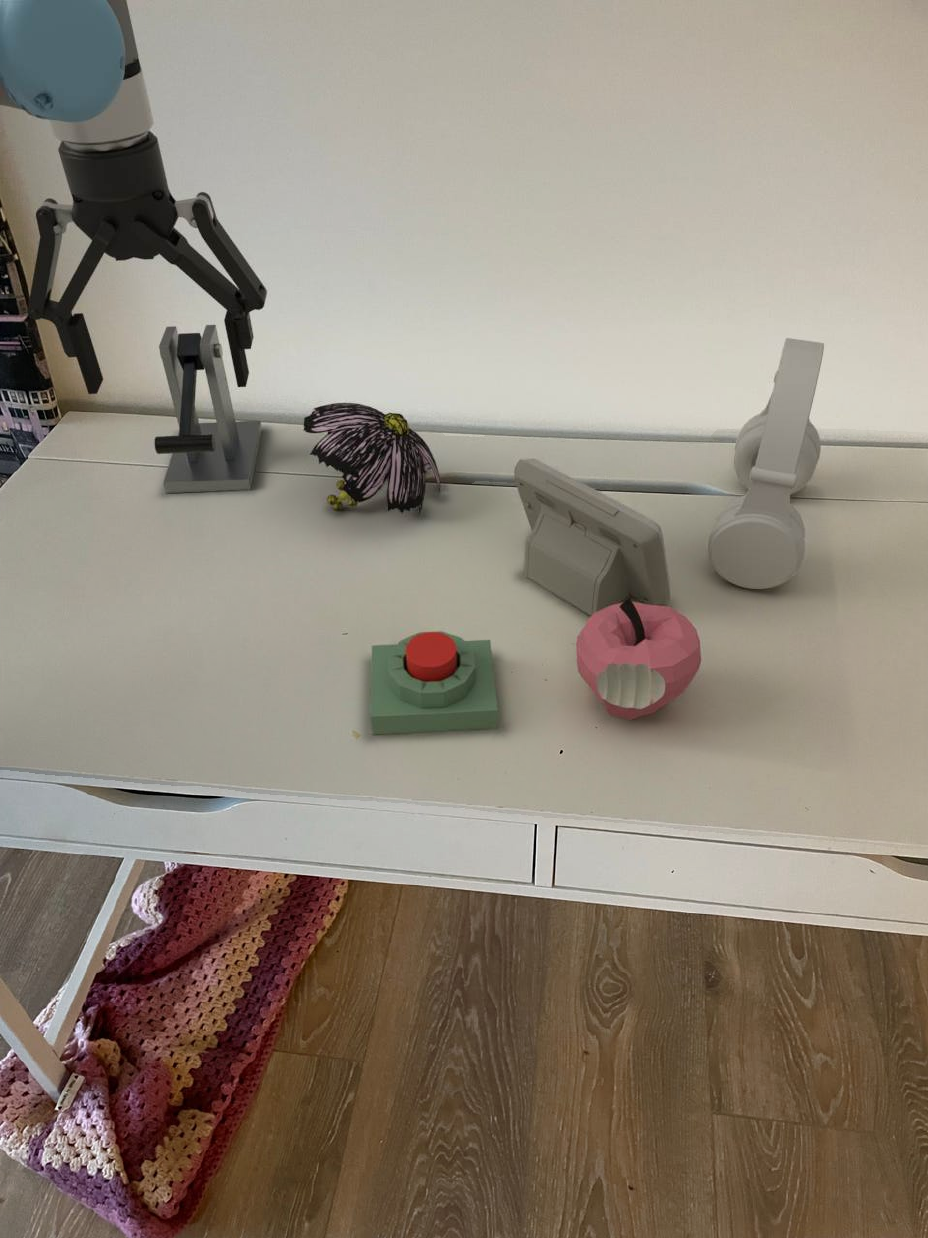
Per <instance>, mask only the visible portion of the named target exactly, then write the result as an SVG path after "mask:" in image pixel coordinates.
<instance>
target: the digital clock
mask: <svg viewBox="0 0 928 1238" xmlns="http://www.w3.org/2000/svg"><path fill="white" fill-rule="evenodd" d="M513 477H514V482H515V485H516V489H517V491H518V494H519V497H520V500H521V503H522V506H523V509H524V513H525V515H526V518H527V520H528V525H529V527H530V530H531V531H530V533H529V534H528V535H527V537H526V540H525V545H524V567H523V568H524V569H523V575H524V576H525V577H526V578H527V579H529V580H532V581H533V582H534V583H536V584H538V585H540V586H541V587H543V588H545V590H547V591H548V592H551V593H552V594H554V595H556V596H557V597H559V598H561V599H562V600H564V601H566V602H567V603H569V604H570V605H572V606H573V607H576V608H577V609H579V610H581V611H582V612H583V613H585V614H586V615H588V616H590V617H591V616H592V615H593V614H594V613H596V612H598V611H600V610H602V609H604V608H606V607H608V606H611V605H615V604H619V603H622V602H623V600H626V599H627V598H628V597H629V596H631V597H634V598H635V599H637V600H639V601H641V603H643V604H648V605H657V606H663V605H664V604H666V603H667V602H668V601H669V600H670V599H671V582H670V574H669V568H668V562H667V554H666V553H667V552H666V547H665V542H664V541H665V539H664V535H663V529H662V528H661V526H660V524H659V523H658V522H657V521H656V520H654V519H652V518H651V517H648V516H647V515H645V514H643V513H642V512H639V511H637V510H635V509H633V508H632V507H630V506H628V505H625V504H624V503H622V502H620V501H618V500H616V499H613V497H610V496H608V495H606V494H605V493H602V492H600V491H599V490H597V489H595V488H593V487H590V486H589V485H587V484H585V483H583V482H581V481H579V480H578V479H575V478H574V477H572V476H569V475H568V474H565V473H564V472H562V471H560V470H558V469H556V468H554V467H553V466H550V465H548V464H546V463H544V462H542V461H540V460H537V459H535V458H524V459H523V458H522V459H519V460H518V461H517V462H516V464H515V466H514V471H513Z"/></svg>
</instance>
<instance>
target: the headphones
mask: <svg viewBox="0 0 928 1238" xmlns="http://www.w3.org/2000/svg"><path fill="white" fill-rule="evenodd" d="M824 349H825V343H824V342H818V341H812V340H804V339H798V338H790V337H787V338H786V339H785V341H784V343H783V348H782V351H781V356H780V360H779V364H778V368H777V370H776V371H775V374H774V377H773V383H774V384H773V388H772V392H771V394H770V397H769V399H768V401H767V404H766V406H765V407H764V409H763V410H762V411H761V412H760V413H758V414H755V415H754V416H753V417H751V418H750V419H748V421H746V422H745V423H744V425H743V426H742V427H741V429H740V431H739V432H738V435H737V436H736V439H735V445H734V453H733V468H734V469H733V470H734V472H735V475H736V477H737V479H738V481H740V483H741V484H742V485H743V487H744V488H746V489H747V492H746V494H745V495H740V496H738V497H736V498H733V500H731V501H729V502H728V503H727V504H726V505H724V507H723V508H722V509H721V511H720V512H719V514H718V515H717V517H716V519H715V523H714V524H713V526H712V528H711V530H710V532H709V536H708V540H707V556H708V559H709V562H710V565H711V566H712V567H713V569H714V570H715V572H716V573H717V574H718V575H719V576H720V577H721V578H723V579H724V580H726V582H727V581H728V582H729V583H730V584H733V585H735V586H737V587H741V588H745V589H750V590H765V589H766V590H767V589H771V588H775V587H778V586H781V585H783V584H785V583H786V582H788V581H789V580H790V579H792V578H793V577H794V576H795V575H796V574H797V572H798V571H799V569H800V567H801V565H802V563H803V560H804V558H805V552H806V542H805V537H806V533H805V531H806V530H805V529H806V528H805V525H804V520H803V518H802V516H801V514H800V513H799V511H798V510H797V509H796V507H794V505H793V504H791V495H793V494H796V493H797V492H799V491H801V490H802V489H803V488H804V487H805V486H807V484H808V483H809V482H810V481H811V479H812V477H813V476H814V474H815V472H816V469H817V468H816V467H817V465H818V462H819V459H820V456H821V451H822V450H821V448H822V447H821V444H822V443H821V439H820V435H819V433H818V429H816V427H815V426H814V424H813V423H812V421H811V420H810V416H811V411H812V408H813V402H814V398H815V395H816V389H817V385H818V382H819V381H818V380H819V376H820V371H821V366H822V362H823V355H824Z"/></svg>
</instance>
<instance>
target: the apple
mask: <svg viewBox="0 0 928 1238" xmlns="http://www.w3.org/2000/svg"><path fill="white" fill-rule="evenodd" d="M575 647H576V648H575V649H576V651H575V652H576V666H577V672H578V673H579V675H580V677H581V678H582V679H583V681H584V682H585V684H586V685H587V686H588V687H589V688H590V690H591V691H592V692H593V693H594V695H595V696H596V697H597V698H598V700H599V701H600V703H601V704H602V705H603V707H604V708H605V710H606V712H607V713H608V715H610V716H612V717H613V716H614V717H616V718H620V719H624V720H629V721H631V720H633V719H636V718H640V717H642V716H649V715H653V714H654V713H656V712H657V711H659V710H660V709H661V708H662V707H665V705H667V704H669V703H671V702H673V701H675V700H676V699H677V698H678V697H680V696H681V695H682V694H684V692H685V691H686V690H687V689H688V687H689V686H690V684H691V682H693V680H694V678H695V677H696V675H697V673H698V672H699V670H700V666H701V664H702V652H701V651H702V650H701V641H700V637H699V634H698V631H697V629H696V627H695V626H694V625H693V623H692V622H691V621H690V620H689V618H688V617H687V616H686V615H684V614H682V613H680V612H679V611H676V610H675V609H673V608H672V607H670V606H666V605H658V606H657V605H648V604H646V603H644V602H637V601H632V599H631V598H630V597H626V598H625V599H624V601H621V602H619V603H618V604H615V605H611V606H608V607H606V608H604V609H602V610H600V611H598V612H596V613H594V614H593V615H592V616H590V617H589V619H588V620H587V622H586V623H585V625H584V626H583V628H582V629H581V631H580V632H579V634H578V635H577V637H576V643H575Z"/></svg>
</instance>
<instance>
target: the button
mask: <svg viewBox="0 0 928 1238" xmlns="http://www.w3.org/2000/svg"><path fill="white" fill-rule="evenodd" d="M425 632H426V633H422V634H419V635H417V636H415V637H413V638H412V639H411V640H410V641H409V643H408V644H407V647H406V659H407V668H408V671H409V673H410V674H411V675H412V676H413V677H414V678H416V679H418V680H421V681H424V682H434V681H442V680H444V679H446V678H448V677H449V676H451V675H452V674H453V673H454V671H455V669H456V666H457V651H456V644H455V642H454V641H453V640H452V639H451V638H450V637H449V636H447V635H445V634H443V633H439V632H436V631H425Z"/></svg>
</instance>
